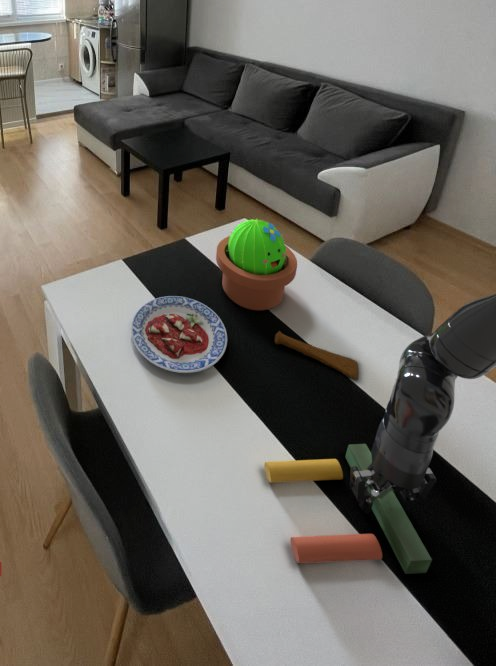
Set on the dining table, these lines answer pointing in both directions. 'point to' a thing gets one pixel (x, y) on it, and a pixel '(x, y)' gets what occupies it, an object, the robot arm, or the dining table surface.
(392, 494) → the green bar
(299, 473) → the ochre rod
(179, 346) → the ceramic plate
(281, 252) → the potted cactus
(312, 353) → the primitive tool
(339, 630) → the dining table surface
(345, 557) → the terracotta rod
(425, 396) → the robot arm
